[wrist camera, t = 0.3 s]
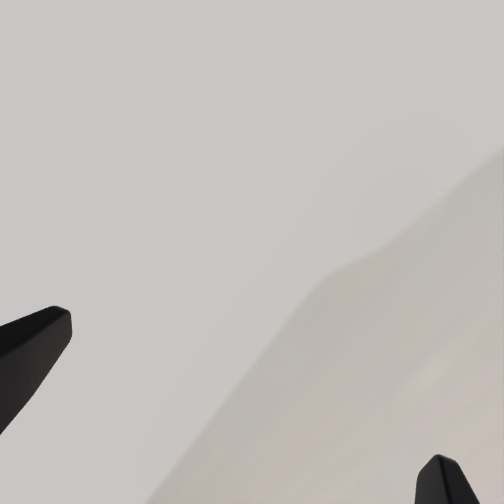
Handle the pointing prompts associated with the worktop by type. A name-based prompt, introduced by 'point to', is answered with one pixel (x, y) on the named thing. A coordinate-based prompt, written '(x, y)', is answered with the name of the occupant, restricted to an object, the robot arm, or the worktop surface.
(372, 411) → the worktop surface
